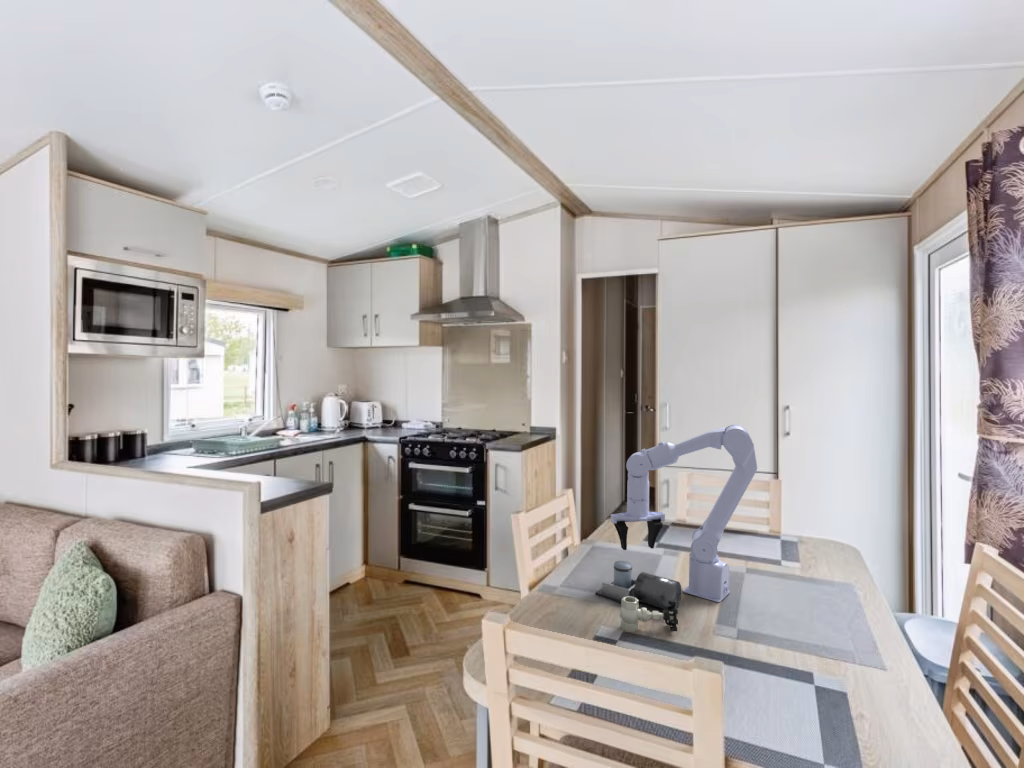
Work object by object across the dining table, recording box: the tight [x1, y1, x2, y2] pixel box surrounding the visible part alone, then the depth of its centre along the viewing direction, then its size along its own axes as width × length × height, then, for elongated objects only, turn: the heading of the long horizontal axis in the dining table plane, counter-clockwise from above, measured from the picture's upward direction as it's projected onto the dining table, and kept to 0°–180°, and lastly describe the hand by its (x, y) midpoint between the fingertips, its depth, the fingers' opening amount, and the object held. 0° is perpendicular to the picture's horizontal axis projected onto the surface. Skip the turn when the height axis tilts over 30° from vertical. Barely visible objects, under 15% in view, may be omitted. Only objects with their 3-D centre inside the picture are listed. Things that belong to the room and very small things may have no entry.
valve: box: [619, 596, 679, 633], centre depth 122 cm, size 7×7×12 cm
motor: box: [595, 571, 683, 610], centre depth 137 cm, size 19×10×7 cm, turn 50°
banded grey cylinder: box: [613, 560, 633, 589], centre depth 140 cm, size 5×5×7 cm
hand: (637, 548), depth 147 cm, fingers open, 7 cm apart
